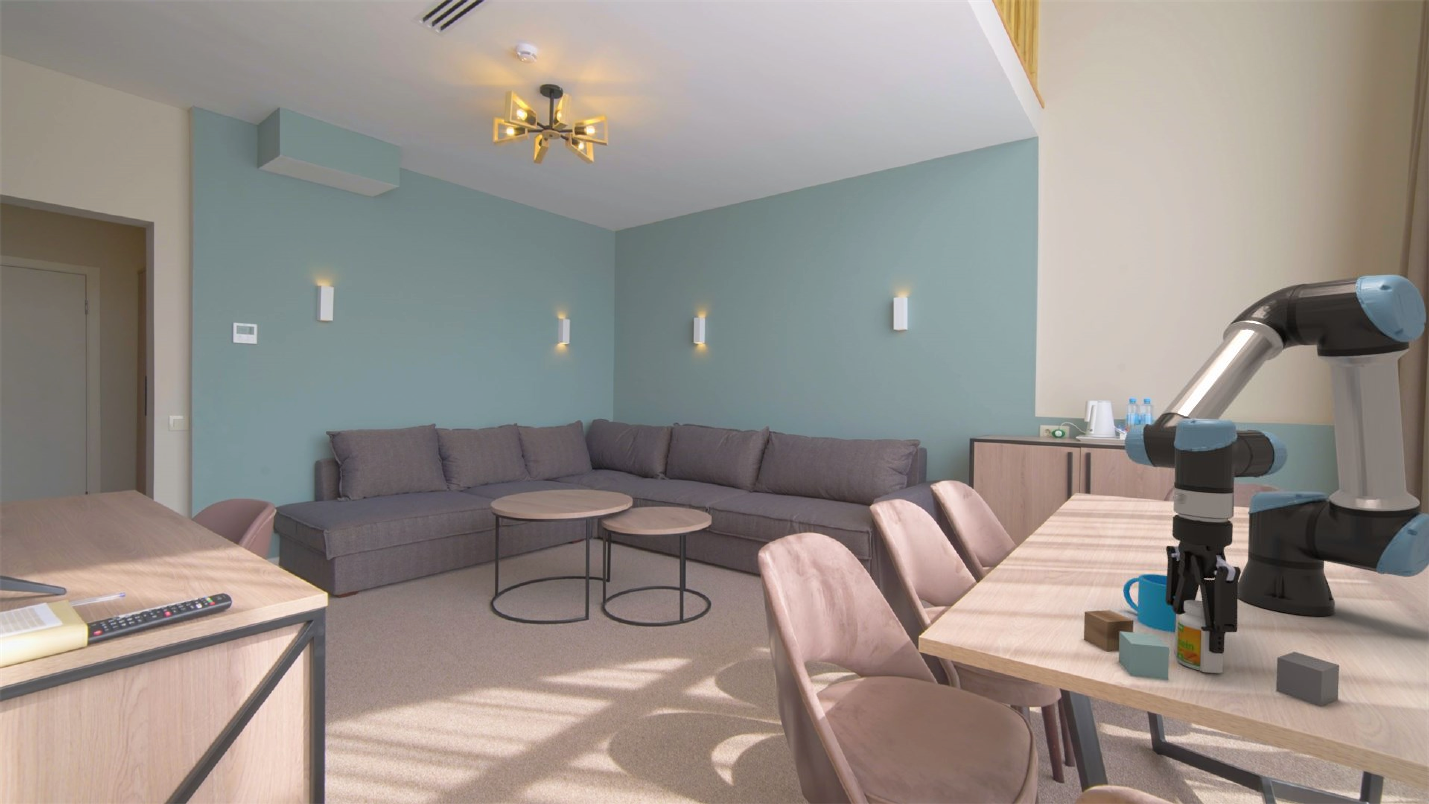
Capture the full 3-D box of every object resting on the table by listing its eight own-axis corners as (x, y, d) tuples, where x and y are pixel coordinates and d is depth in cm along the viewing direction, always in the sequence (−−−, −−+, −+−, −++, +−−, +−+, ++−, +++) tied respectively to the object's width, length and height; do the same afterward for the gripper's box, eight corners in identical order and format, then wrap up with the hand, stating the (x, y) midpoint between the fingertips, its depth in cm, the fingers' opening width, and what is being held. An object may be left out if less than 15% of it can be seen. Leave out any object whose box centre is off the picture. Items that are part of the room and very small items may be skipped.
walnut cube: (1108, 638, 112) (1109, 610, 111) (1132, 649, 107) (1133, 620, 107) (1083, 640, 111) (1084, 611, 111) (1106, 651, 106) (1107, 621, 106)
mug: (1201, 629, 116) (1203, 584, 116) (1171, 634, 113) (1172, 589, 113) (1137, 607, 128) (1139, 567, 127) (1108, 612, 125) (1109, 570, 124)
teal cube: (1154, 666, 100) (1155, 634, 100) (1168, 680, 96) (1169, 647, 96) (1118, 662, 102) (1119, 631, 102) (1130, 676, 97) (1131, 643, 97)
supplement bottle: (1168, 657, 103) (1170, 598, 103) (1199, 657, 104) (1201, 597, 104) (1195, 672, 98) (1197, 609, 98) (1228, 671, 98) (1230, 609, 98)
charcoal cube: (1293, 684, 95) (1294, 651, 95) (1337, 699, 90) (1339, 664, 90) (1276, 691, 92) (1277, 657, 92) (1320, 707, 88) (1322, 671, 88)
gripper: (1142, 505, 110) (1138, 638, 110) (1218, 529, 91) (1213, 689, 92) (1188, 506, 109) (1184, 640, 110) (1274, 530, 91) (1268, 691, 91)
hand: (1197, 662), depth 101 cm, fingers closed on supplement bottle, 5 cm apart
